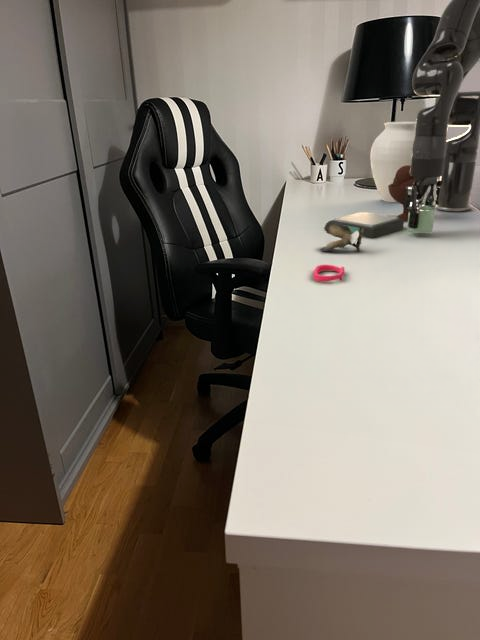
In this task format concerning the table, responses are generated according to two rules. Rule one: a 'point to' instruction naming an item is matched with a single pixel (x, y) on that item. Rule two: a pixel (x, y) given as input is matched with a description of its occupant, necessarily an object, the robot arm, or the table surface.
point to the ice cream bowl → (401, 188)
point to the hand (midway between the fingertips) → (420, 225)
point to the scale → (371, 224)
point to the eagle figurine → (342, 236)
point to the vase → (391, 154)
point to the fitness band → (328, 278)
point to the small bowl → (424, 220)
